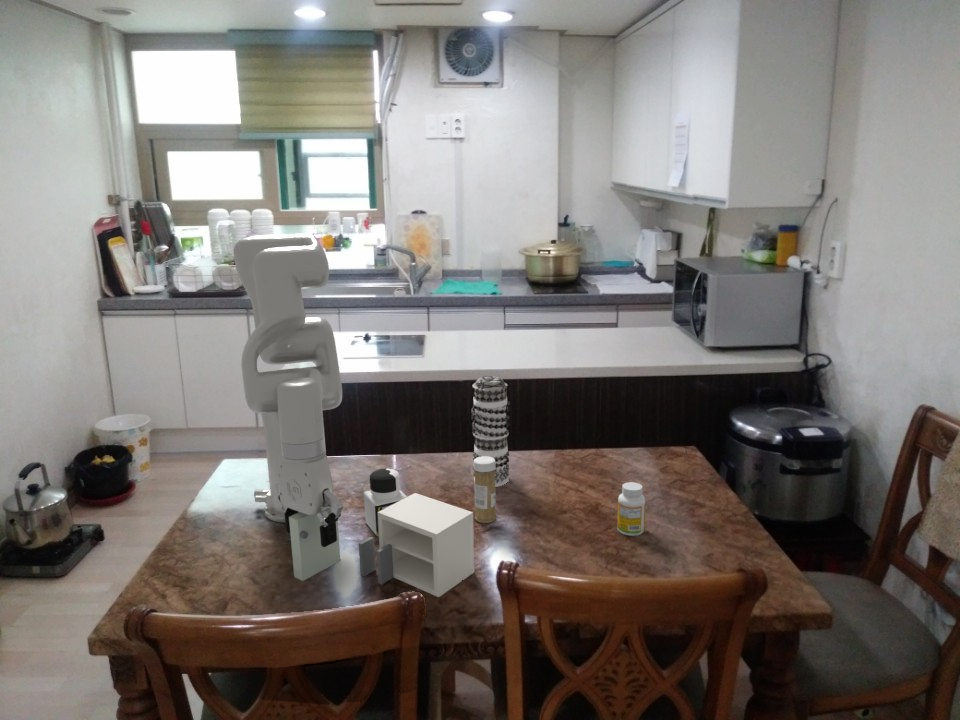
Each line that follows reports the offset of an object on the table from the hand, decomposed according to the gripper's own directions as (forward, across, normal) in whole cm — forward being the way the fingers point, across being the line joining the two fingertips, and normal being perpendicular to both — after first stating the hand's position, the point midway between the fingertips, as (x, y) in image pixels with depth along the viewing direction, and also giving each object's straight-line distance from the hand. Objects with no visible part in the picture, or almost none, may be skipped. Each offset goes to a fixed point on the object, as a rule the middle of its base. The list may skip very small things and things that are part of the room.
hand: (311, 536), depth 132 cm
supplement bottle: (+8, +40, +49) cm, 63 cm away
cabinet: (+7, +16, +11) cm, 20 cm away
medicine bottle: (+7, -2, +21) cm, 23 cm away
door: (+7, -1, +2) cm, 8 cm away
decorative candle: (+7, +2, +52) cm, 53 cm away
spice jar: (+7, +12, +36) cm, 38 cm away
